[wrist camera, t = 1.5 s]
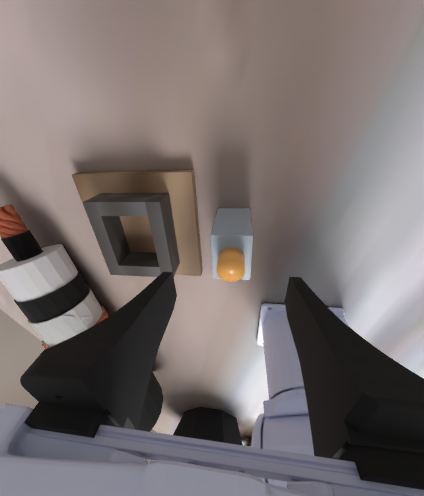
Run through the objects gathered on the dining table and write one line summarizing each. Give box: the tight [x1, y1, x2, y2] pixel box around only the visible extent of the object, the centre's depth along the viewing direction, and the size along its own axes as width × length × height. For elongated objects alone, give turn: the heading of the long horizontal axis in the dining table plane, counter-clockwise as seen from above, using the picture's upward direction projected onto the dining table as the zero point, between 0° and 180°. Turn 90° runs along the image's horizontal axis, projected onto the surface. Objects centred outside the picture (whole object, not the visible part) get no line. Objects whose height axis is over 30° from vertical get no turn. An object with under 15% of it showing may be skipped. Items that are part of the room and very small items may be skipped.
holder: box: [72, 170, 202, 277], centre depth 19 cm, size 11×11×4 cm
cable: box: [0, 205, 163, 432], centre depth 26 cm, size 10×34×10 cm, turn 14°
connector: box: [211, 208, 253, 282], centre depth 17 cm, size 3×4×7 cm
